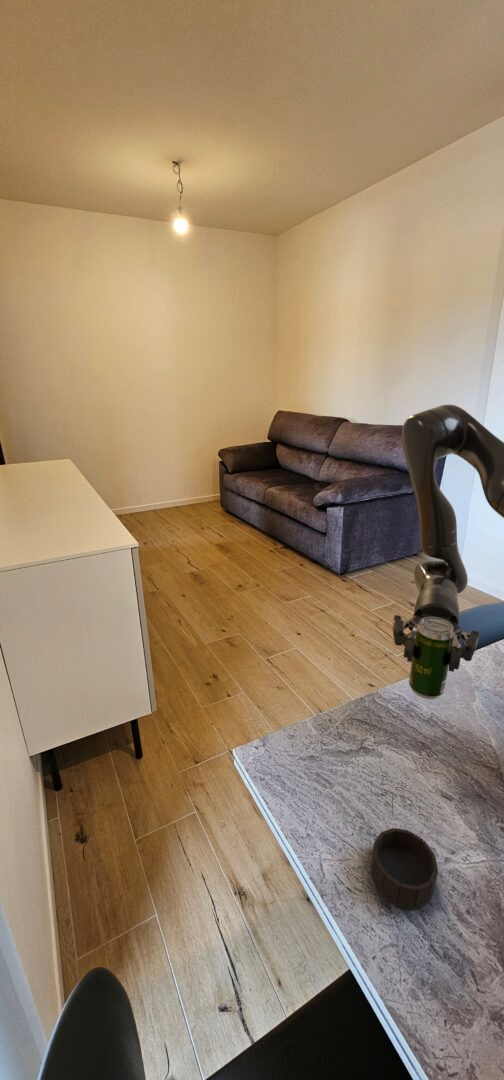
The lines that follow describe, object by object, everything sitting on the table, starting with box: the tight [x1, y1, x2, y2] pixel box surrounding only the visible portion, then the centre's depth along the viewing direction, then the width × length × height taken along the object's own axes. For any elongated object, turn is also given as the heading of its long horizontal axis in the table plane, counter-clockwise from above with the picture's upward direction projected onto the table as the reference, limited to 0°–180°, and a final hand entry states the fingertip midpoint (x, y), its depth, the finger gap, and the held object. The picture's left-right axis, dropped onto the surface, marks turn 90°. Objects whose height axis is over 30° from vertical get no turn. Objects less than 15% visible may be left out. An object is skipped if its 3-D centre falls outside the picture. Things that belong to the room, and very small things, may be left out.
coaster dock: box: [370, 827, 439, 911], centre depth 52 cm, size 7×7×3 cm
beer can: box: [408, 617, 454, 700], centre depth 71 cm, size 5×5×12 cm
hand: (431, 661), depth 69 cm, fingers closed on beer can, 5 cm apart
